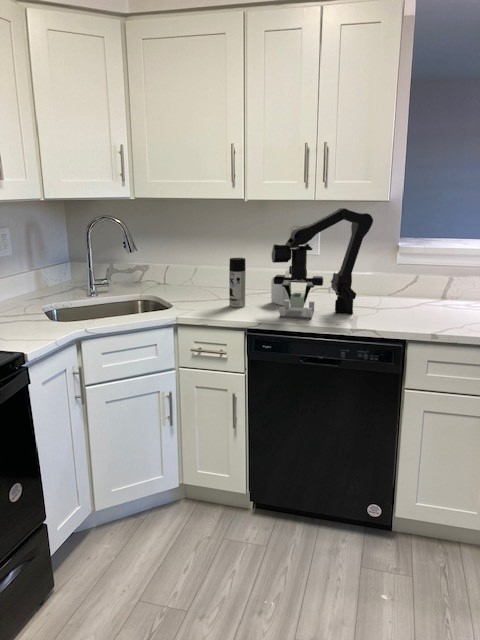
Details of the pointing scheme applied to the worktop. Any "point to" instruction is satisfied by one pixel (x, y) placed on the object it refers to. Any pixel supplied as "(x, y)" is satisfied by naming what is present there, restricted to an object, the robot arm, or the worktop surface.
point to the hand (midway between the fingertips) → (297, 302)
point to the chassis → (296, 311)
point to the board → (297, 300)
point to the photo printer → (278, 293)
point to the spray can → (237, 282)
